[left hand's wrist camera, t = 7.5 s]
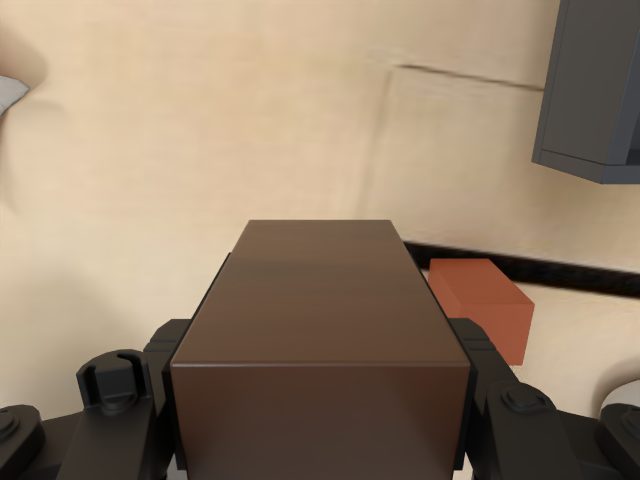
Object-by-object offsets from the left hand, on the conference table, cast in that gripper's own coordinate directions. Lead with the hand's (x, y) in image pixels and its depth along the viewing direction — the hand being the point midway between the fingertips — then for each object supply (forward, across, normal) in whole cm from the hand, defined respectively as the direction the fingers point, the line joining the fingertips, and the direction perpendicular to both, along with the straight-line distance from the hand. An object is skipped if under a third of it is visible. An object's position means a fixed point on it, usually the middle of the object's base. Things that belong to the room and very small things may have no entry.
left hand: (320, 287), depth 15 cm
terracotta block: (+19, -12, +9) cm, 24 cm away
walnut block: (0, 0, 0) cm, 0 cm away
